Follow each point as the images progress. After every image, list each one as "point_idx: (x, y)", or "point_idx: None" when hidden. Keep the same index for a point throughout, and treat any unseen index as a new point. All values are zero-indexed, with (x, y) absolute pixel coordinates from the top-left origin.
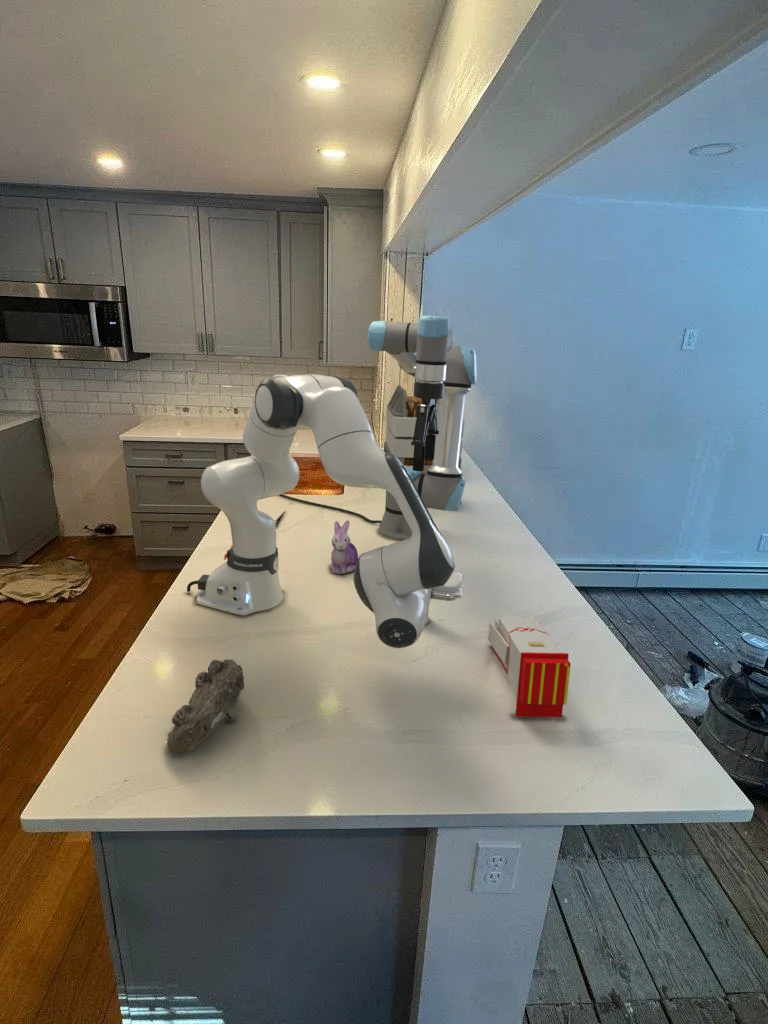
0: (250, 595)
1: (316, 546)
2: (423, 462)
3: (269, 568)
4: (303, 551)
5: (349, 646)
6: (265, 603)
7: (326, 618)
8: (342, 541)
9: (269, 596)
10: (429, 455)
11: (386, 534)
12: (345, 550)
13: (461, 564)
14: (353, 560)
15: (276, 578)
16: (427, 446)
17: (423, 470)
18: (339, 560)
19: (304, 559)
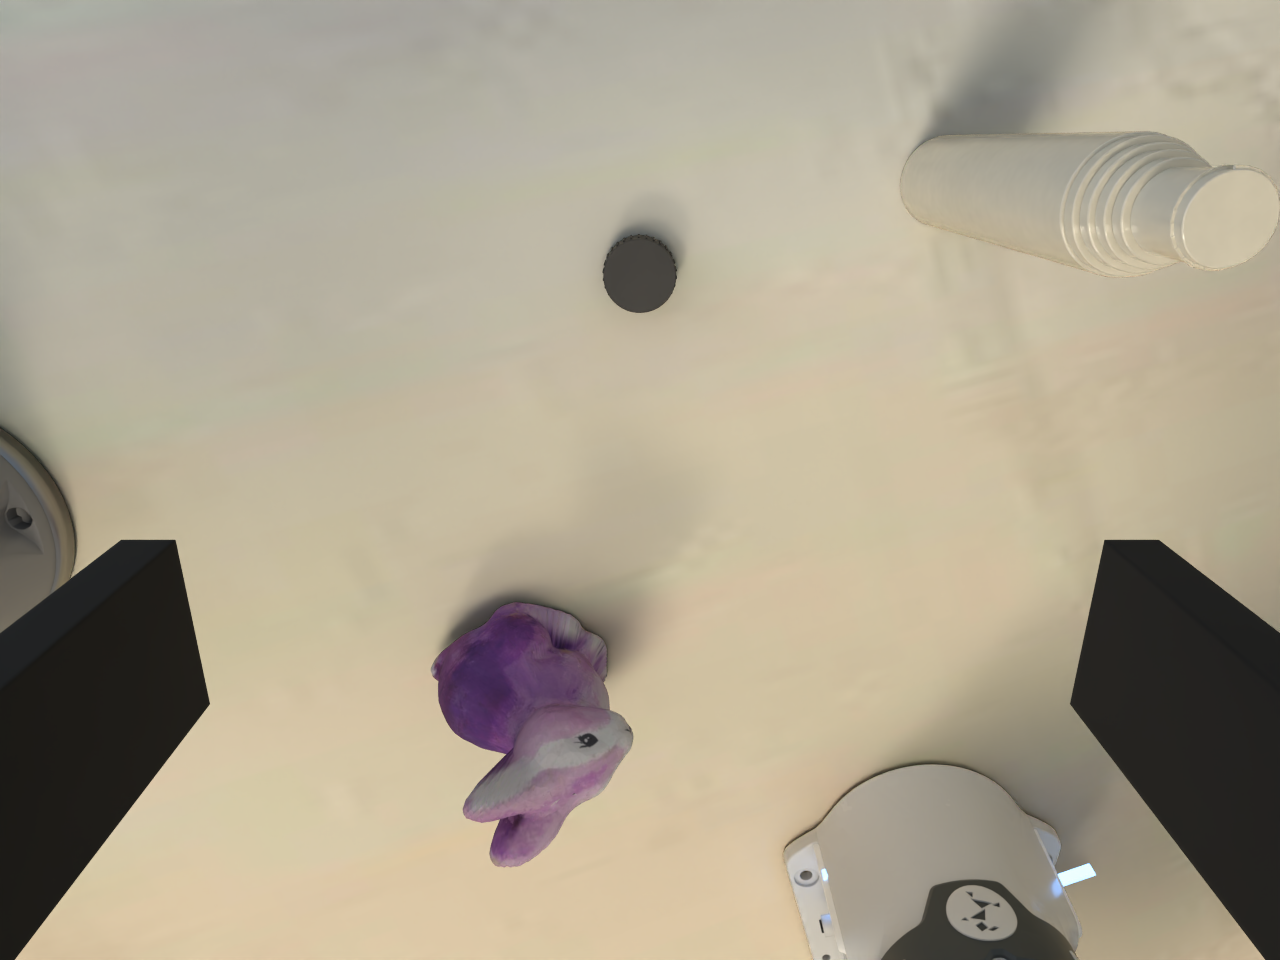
0: (1057, 876)
1: (364, 824)
2: (1270, 638)
3: (1034, 917)
4: (443, 851)
5: (1212, 422)
6: (1005, 807)
7: (1011, 572)
8: (615, 748)
9: (994, 816)
10: (159, 649)
11: (61, 580)
12: (577, 701)
13: (191, 65)
14: (544, 635)
15: (959, 854)
16: (58, 823)
17: (1167, 550)
18: (606, 691)
19: None
